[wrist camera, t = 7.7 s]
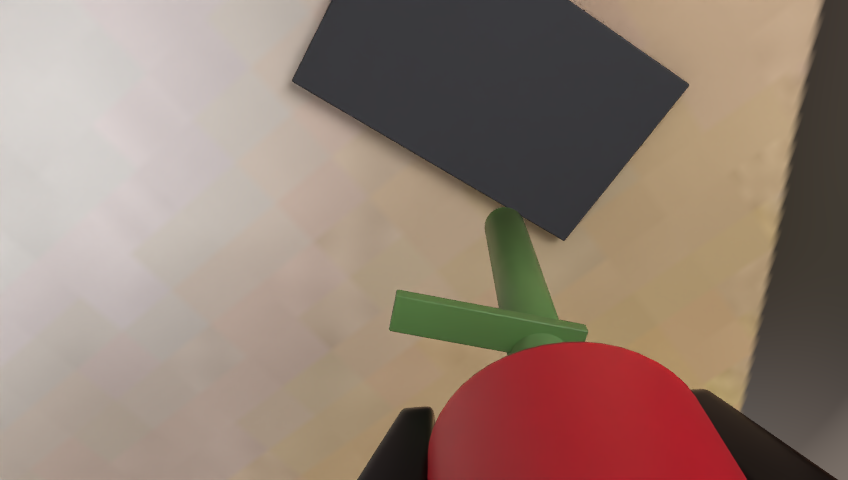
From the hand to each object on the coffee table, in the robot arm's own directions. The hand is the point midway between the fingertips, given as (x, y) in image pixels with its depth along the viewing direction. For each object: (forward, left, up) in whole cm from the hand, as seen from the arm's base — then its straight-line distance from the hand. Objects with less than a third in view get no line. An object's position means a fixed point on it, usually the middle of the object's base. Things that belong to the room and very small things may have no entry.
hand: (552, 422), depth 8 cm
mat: (+1, -2, -12) cm, 12 cm away
